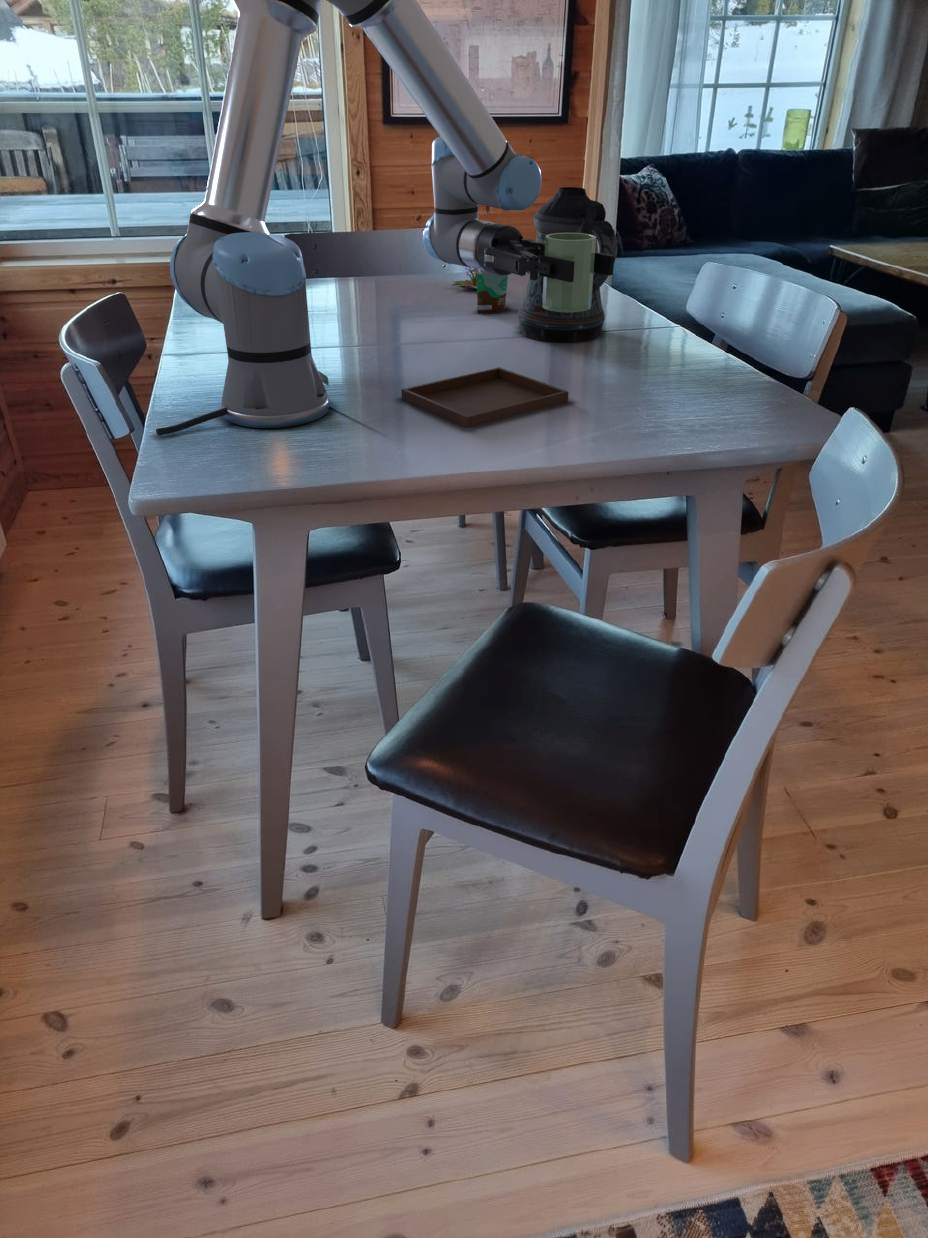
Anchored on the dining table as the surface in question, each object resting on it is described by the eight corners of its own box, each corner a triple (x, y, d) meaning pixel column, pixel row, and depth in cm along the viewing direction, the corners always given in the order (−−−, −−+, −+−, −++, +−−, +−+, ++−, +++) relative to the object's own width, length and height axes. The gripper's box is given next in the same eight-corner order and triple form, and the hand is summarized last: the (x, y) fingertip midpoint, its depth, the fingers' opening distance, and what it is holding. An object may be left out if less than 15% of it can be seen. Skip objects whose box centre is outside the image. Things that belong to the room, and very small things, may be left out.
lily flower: (494, 281, 209) (494, 261, 206) (505, 292, 199) (505, 270, 196) (445, 283, 207) (444, 262, 205) (453, 293, 197) (453, 272, 195)
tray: (467, 429, 121) (467, 417, 120) (401, 400, 132) (401, 388, 131) (567, 403, 131) (568, 391, 130) (499, 378, 142) (499, 367, 141)
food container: (505, 316, 179) (507, 264, 173) (476, 314, 180) (476, 263, 174) (514, 303, 189) (516, 253, 184) (486, 302, 190) (487, 252, 185)
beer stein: (536, 318, 177) (542, 181, 164) (629, 328, 170) (643, 186, 157) (503, 336, 164) (507, 189, 151) (602, 349, 157) (615, 195, 144)
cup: (565, 314, 129) (569, 242, 124) (532, 305, 134) (535, 235, 129) (600, 307, 133) (606, 237, 128) (567, 299, 138) (571, 231, 133)
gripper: (538, 265, 150) (637, 286, 134) (443, 279, 139) (539, 304, 124) (540, 217, 146) (642, 234, 130) (442, 228, 135) (541, 248, 120)
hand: (592, 268), depth 127 cm, fingers closed on cup, 7 cm apart
